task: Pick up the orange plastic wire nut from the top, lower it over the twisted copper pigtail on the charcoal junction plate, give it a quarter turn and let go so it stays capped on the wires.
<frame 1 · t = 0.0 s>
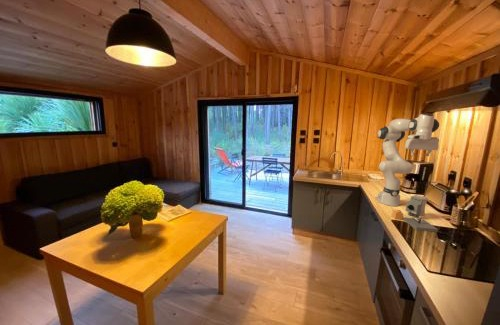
hand: (419, 155, 158), 48 cm above the table, tool pointing down, fingers open, 8 cm apart
junction plate: (419, 225, 154), on the table
wire nut: (396, 218, 165), on the table
circuit breaker: (413, 216, 171), on the table
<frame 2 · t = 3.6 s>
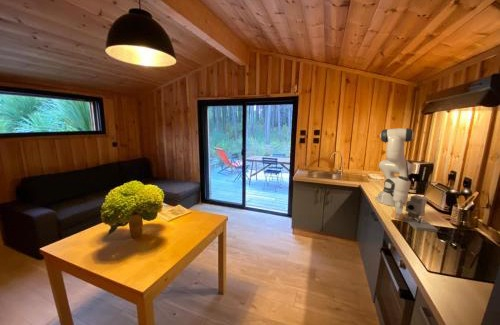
hand: (397, 215, 165), 2 cm above the table, tool pointing down, fingers closed on wire nut, 6 cm apart
wire nut: (396, 218, 165), on the table, touching gripper
everything else where it was.
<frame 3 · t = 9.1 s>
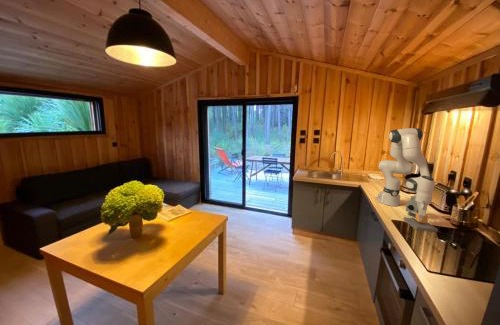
hand: (419, 218, 153), 5 cm above the table, tool pointing down, fingers closed on wire nut, 6 cm apart
wire nut: (421, 221, 153), point 3 cm above the table, touching gripper, junction plate
everything else where it was.
when the fingers open (6 cm above the table, at t = 10.2 s): wire nut stays where it is, resting on junction plate.
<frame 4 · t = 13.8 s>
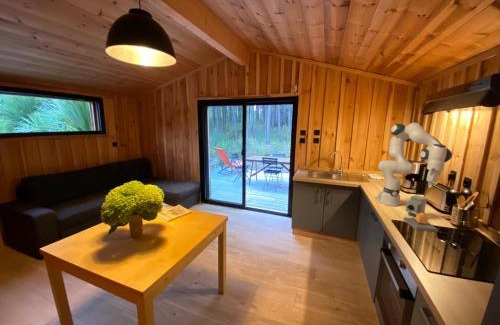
hand: (431, 186, 156), 27 cm above the table, tool pointing down, fingers open, 8 cm apart
wire nut: (421, 221, 153), point 3 cm above the table, touching junction plate
everything else where it was.
at the end: wire nut 0.6 cm off-centre on the junction plate, point 3.0 cm above the junction plate's base; wire nut tilted 0°; the gripper is holding nothing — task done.
